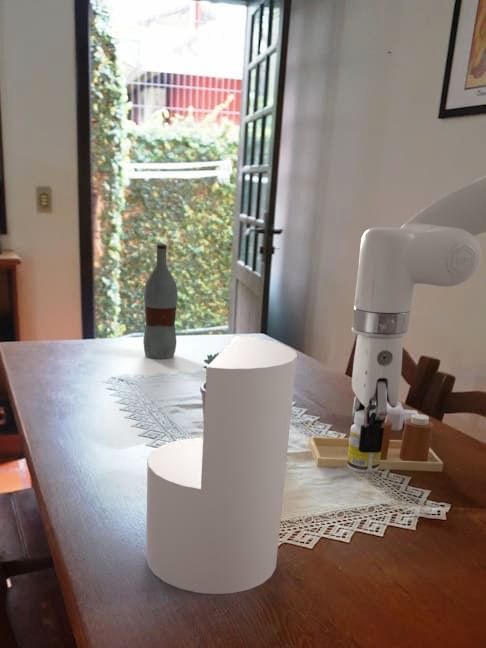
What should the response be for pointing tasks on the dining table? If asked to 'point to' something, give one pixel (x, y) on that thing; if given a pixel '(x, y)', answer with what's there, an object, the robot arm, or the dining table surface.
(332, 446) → the tray
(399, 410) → the charger
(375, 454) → the supplement bottle
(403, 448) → the amber bottle
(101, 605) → the dining table surface
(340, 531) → the dining table surface
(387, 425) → the amber bottle
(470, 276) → the robot arm
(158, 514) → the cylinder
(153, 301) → the grey green soda bottle
